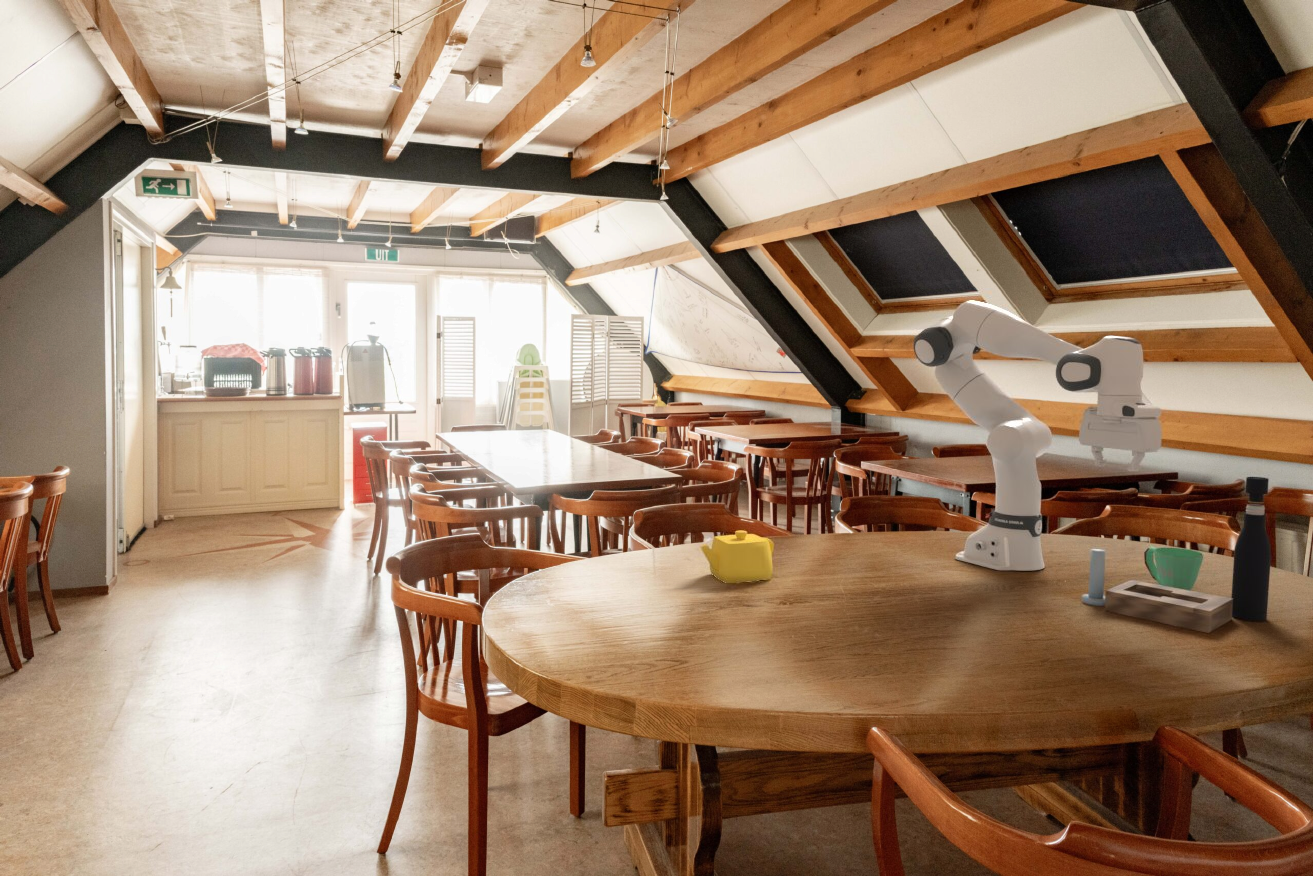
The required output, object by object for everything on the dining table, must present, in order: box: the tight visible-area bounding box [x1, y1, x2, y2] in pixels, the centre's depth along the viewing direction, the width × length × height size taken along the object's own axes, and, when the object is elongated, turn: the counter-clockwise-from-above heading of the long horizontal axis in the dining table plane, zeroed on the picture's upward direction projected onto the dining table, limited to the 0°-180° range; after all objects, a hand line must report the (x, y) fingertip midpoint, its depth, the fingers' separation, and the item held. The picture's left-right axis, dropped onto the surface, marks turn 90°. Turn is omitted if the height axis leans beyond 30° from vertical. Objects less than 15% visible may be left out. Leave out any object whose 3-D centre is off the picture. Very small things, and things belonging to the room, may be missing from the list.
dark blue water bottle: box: [1230, 476, 1272, 623], centre depth 180 cm, size 6×6×30 cm
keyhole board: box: [1104, 579, 1233, 634], centre depth 182 cm, size 20×14×4 cm
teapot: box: [699, 530, 775, 584], centre depth 214 cm, size 20×12×12 cm, turn 109°
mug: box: [1143, 545, 1204, 591], centre depth 201 cm, size 15×10×10 cm
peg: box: [1081, 548, 1107, 607], centre depth 191 cm, size 6×6×12 cm
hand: (1116, 468), depth 193 cm, fingers open, 8 cm apart
